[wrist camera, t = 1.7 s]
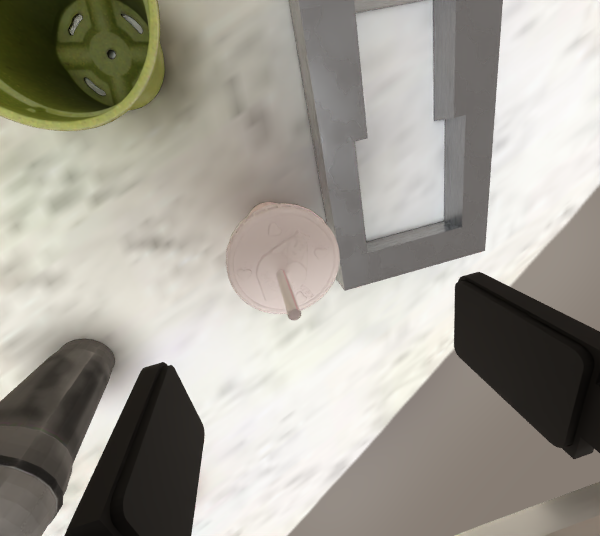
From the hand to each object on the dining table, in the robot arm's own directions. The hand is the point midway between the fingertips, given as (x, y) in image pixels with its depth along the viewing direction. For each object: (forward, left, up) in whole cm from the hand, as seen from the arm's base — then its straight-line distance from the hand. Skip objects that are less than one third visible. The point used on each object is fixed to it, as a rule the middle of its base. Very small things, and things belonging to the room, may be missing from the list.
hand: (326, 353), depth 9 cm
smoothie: (0, 0, -17) cm, 17 cm away
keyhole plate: (-5, +12, -17) cm, 21 cm away
